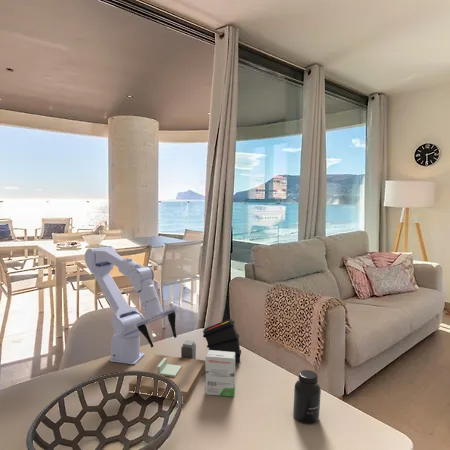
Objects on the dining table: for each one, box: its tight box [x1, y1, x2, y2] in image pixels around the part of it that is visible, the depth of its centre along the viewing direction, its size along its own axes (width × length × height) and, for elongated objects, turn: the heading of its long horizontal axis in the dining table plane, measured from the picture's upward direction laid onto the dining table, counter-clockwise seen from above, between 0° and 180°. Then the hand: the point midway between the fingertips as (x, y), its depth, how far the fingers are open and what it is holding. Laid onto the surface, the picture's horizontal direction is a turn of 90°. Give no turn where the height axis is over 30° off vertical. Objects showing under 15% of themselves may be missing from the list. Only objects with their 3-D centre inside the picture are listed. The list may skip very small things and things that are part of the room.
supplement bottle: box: [292, 369, 322, 425], centre depth 93 cm, size 7×7×12 cm
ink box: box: [205, 349, 236, 398], centre depth 104 cm, size 9×5×12 cm, turn 82°
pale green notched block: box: [157, 358, 182, 377], centre depth 110 cm, size 6×6×3 cm
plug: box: [180, 339, 197, 359], centre depth 122 cm, size 4×4×7 cm
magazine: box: [202, 318, 242, 364], centre depth 123 cm, size 4×13×15 cm, turn 81°
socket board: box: [128, 353, 206, 403], centre depth 110 cm, size 18×19×3 cm
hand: (164, 342), depth 111 cm, fingers open, 7 cm apart
